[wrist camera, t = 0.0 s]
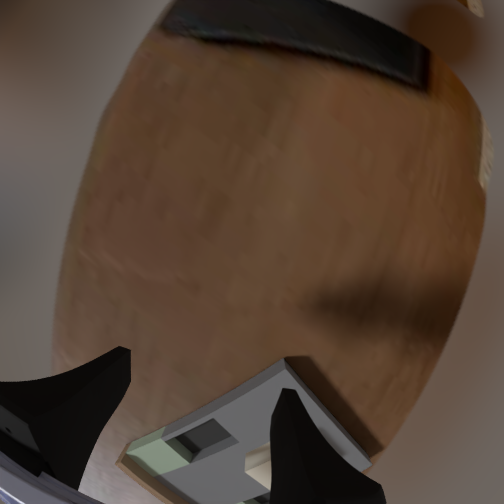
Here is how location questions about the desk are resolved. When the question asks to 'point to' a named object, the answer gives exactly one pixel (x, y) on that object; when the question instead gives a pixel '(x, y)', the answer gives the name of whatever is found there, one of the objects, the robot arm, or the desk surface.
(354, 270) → the desk surface
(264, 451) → the cream block
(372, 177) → the desk surface
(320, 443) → the robot arm
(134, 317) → the desk surface
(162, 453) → the board
